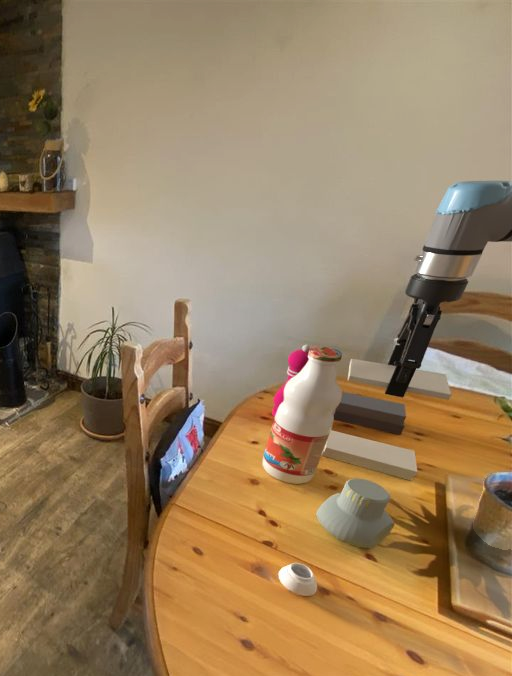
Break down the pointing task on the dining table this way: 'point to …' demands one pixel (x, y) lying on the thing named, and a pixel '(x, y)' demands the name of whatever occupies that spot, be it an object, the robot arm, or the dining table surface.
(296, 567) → the small white bowl
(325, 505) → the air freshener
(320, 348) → the fruit juice
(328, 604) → the dining table surface
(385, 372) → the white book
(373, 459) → the light grey flat block
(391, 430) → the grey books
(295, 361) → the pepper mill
